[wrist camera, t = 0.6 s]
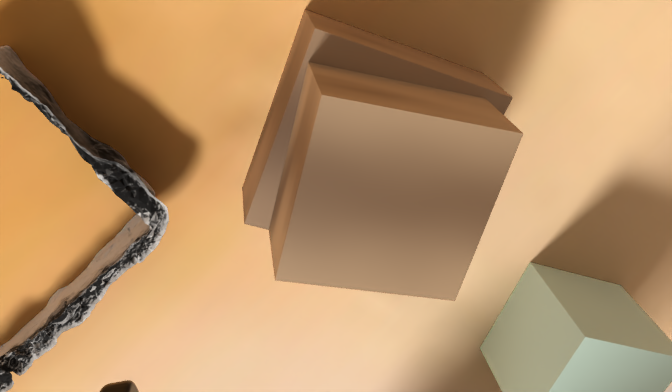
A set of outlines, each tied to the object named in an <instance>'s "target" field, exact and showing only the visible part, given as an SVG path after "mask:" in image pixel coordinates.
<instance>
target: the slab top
mask: <svg viewBox="0 0 672 392" xmlns="http://www.w3.org/2000/svg"><path fill="white" fill-rule="evenodd" d="M522 136H523V133H522V132H521V131H520V130H519V129H518V128H517V127H516V126H515V125H513V124H512V123H511V122H510V121H509V120H508V119H507V118H506V117H505V116H504V115H503V114H502V113H501V112H500V111H498V110H497V109H496V108H495V107H494V106H493V105H492V104H491V103H490V102H489V101H488V100H487V99H486V98H482V97H477V96H472V95H467V94H462V93H457V92H452V91H447V90H443V89H438V88H433V87H428V86H423V85H418V84H413V83H409V82H404V81H399V80H394V79H389V78H384V77H379V76H375V75H370V74H365V73H360V72H355V71H350V70H345V69H341V68H336V67H331V66H326V65H321V64H316V63H311V62H308V65H307V69H306V73H305V78H304V82H303V86H302V90H301V95H300V99H299V103H298V107H297V111H296V116H295V120H294V124H293V128H292V133H291V137H290V141H289V145H288V150H287V154H286V158H285V162H284V167H283V171H282V175H281V179H280V184H279V188H278V192H277V196H276V201H275V205H274V209H273V213H272V218H271V222H270V226H269V235H270V243H271V251H272V259H273V267H274V275H275V280H276V281H285V282H294V283H303V284H311V285H320V286H329V287H338V288H346V289H355V290H364V291H373V292H382V293H390V294H399V295H408V296H417V297H425V298H434V299H443V300H452V301H455V300H456V297H457V295H458V292H459V290H460V287H461V285H462V283H463V280H464V278H465V275H466V273H467V270H468V268H469V265H470V263H471V261H472V258H473V256H474V253H475V251H476V248H477V246H478V243H479V241H480V239H481V236H482V234H483V231H484V229H485V226H486V224H487V221H488V219H489V216H490V214H491V212H492V209H493V207H494V204H495V202H496V199H497V197H498V194H499V192H500V190H501V187H502V185H503V182H504V180H505V177H506V175H507V172H508V170H509V168H510V165H511V163H512V160H513V158H514V155H515V153H516V150H517V148H518V145H519V143H520V141H521V138H522Z"/></svg>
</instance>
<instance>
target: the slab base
mask: <svg viewBox="0 0 672 392" xmlns="http://www.w3.org/2000/svg"><path fill="white" fill-rule="evenodd" d="M308 62H311V63H316V64H321V65H326V66H331V67H336V68H341V69H345V70H350V71H355V72H360V73H365V74H370V75H375V76H379V77H384V78H389V79H394V80H399V81H404V82H409V83H413V84H418V85H423V86H428V87H433V88H438V89H443V90H447V91H452V92H457V93H462V94H467V95H472V96H477V97H482V98H486V99H487V100H488V101H489V102H490V103H491V104H492V105H493V106H494V107H495V108H496V109H497V110H498V111H500V112H501V113H502V114H503V115H504V113H505V111H506V110H507V108H508V106H509V104H510V102H511V100H512V97H511V96H510V95H509V94H507V93H506V92H505V91H504V90H503V89H502V88H500V87H499V86H498V85H497V84H496V83H494V82H493V81H492V80H491V79H490V78H488V77H487V76H486V75H485V74H483V73H480V72H478V71H475V70H472V69H469V68H467V67H464V66H461V65H458V64H455V63H453V62H450V61H447V60H444V59H442V58H439V57H436V56H433V55H431V54H428V53H425V52H422V51H419V50H417V49H414V48H411V47H408V46H406V45H403V44H400V43H397V42H395V41H392V40H389V39H386V38H383V37H381V36H378V35H375V34H372V33H370V32H367V31H364V30H361V29H359V28H356V27H353V26H350V25H348V24H345V23H342V22H339V21H336V20H334V19H331V18H328V17H325V16H323V15H320V14H317V13H314V12H312V11H309V10H306V9H305V11H304V13H303V16H302V19H301V22H300V25H299V28H298V30H297V33H296V36H295V39H294V42H293V45H292V48H291V50H290V53H289V56H288V59H287V62H286V65H285V68H284V70H283V73H282V76H281V79H280V82H279V85H278V88H277V90H276V93H275V96H274V99H273V102H272V105H271V107H270V110H269V113H268V116H267V119H266V122H265V125H264V127H263V130H262V133H261V136H260V139H259V142H258V145H257V147H256V150H255V153H254V156H253V159H252V162H251V165H250V167H249V170H248V173H247V176H246V179H245V182H244V184H243V187H242V191H243V209H244V224H247V225H251V226H256V227H260V228H264V229H268V230H269V226H270V222H271V218H272V213H273V209H274V205H275V201H276V196H277V192H278V188H279V184H280V179H281V175H282V171H283V167H284V162H285V158H286V154H287V150H288V145H289V141H290V137H291V133H292V128H293V124H294V120H295V116H296V111H297V107H298V103H299V99H300V95H301V90H302V86H303V82H304V78H305V73H306V69H307V65H308Z"/></svg>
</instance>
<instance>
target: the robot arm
mask: <svg viewBox="0 0 672 392" xmlns="http://www.w3.org/2000/svg"><path fill="white" fill-rule="evenodd" d="M100 392H138V389H137V387H136V385H135V384H134V382H132V381H130V380H127V381H122V382H116V383H110V384H107V385H105V386H104V387H103V388H102V389H101V391H100Z"/></svg>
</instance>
